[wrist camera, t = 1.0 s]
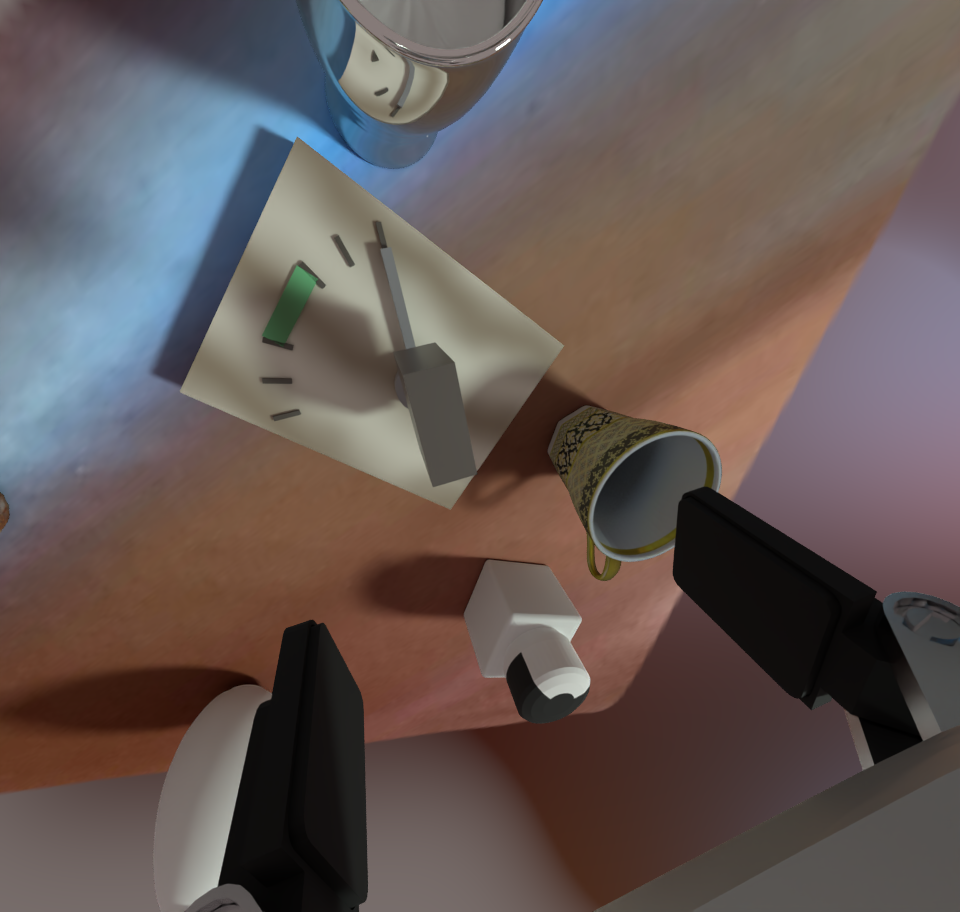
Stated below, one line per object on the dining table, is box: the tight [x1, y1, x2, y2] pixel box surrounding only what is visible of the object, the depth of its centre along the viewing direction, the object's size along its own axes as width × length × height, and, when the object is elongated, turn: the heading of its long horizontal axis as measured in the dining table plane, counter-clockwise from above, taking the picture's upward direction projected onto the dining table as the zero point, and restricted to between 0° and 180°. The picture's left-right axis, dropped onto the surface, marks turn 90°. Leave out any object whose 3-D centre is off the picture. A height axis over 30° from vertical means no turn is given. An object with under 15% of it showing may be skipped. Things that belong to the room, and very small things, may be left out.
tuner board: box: [180, 137, 564, 509], centre depth 26 cm, size 15×19×2 cm
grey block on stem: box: [380, 247, 477, 487], centre depth 22 cm, size 3×11×8 cm, turn 10°
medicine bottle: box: [464, 560, 590, 723], centre depth 35 cm, size 7×7×12 cm
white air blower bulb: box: [153, 685, 272, 912], centre depth 29 cm, size 8×8×18 cm
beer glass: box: [296, 0, 543, 169], centre depth 15 cm, size 7×7×15 cm
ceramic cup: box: [548, 405, 722, 581], centre depth 31 cm, size 13×10×10 cm
